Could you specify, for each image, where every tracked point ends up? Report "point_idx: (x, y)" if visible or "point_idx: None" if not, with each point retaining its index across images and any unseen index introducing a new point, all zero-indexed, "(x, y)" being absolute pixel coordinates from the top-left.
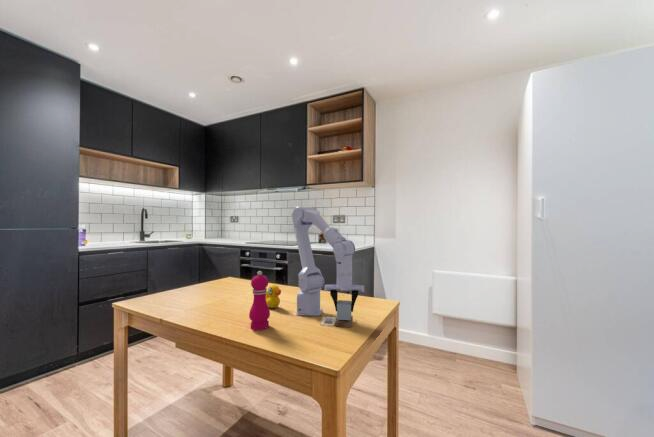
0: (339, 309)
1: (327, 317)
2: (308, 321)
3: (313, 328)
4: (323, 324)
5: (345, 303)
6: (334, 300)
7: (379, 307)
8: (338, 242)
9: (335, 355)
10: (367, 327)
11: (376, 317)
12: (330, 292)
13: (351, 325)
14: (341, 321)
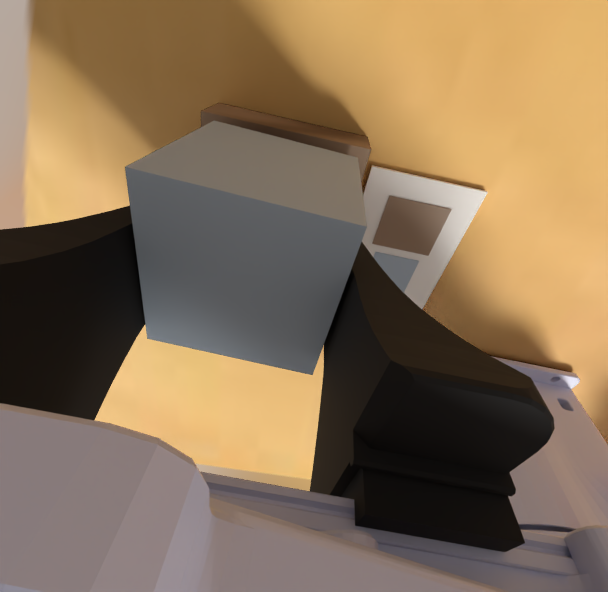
0: (327, 186)
1: None
2: (549, 274)
3: (591, 114)
4: (464, 188)
5: (221, 249)
6: (400, 305)
7: None
8: None
9: None
10: (86, 85)
11: None
12: (511, 469)
13: (223, 106)
14: (313, 135)
